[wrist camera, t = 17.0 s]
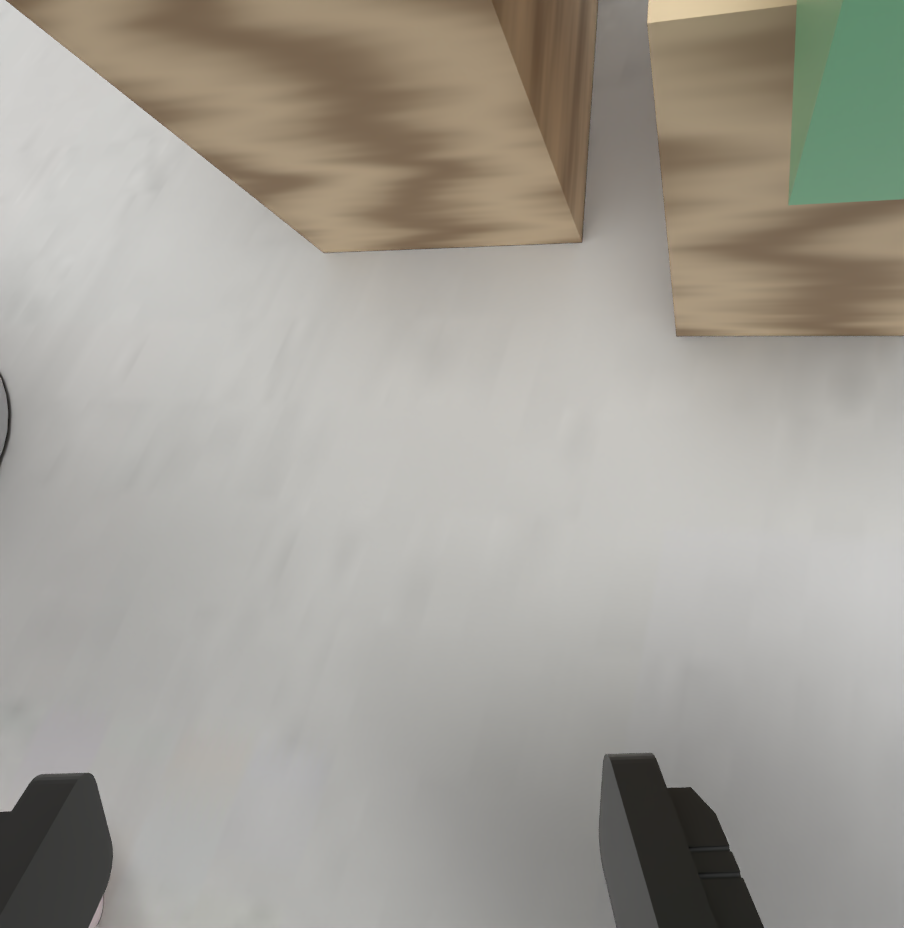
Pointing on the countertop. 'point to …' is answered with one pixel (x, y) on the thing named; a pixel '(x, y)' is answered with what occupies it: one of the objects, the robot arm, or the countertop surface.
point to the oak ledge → (757, 188)
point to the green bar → (848, 102)
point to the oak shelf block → (365, 107)
